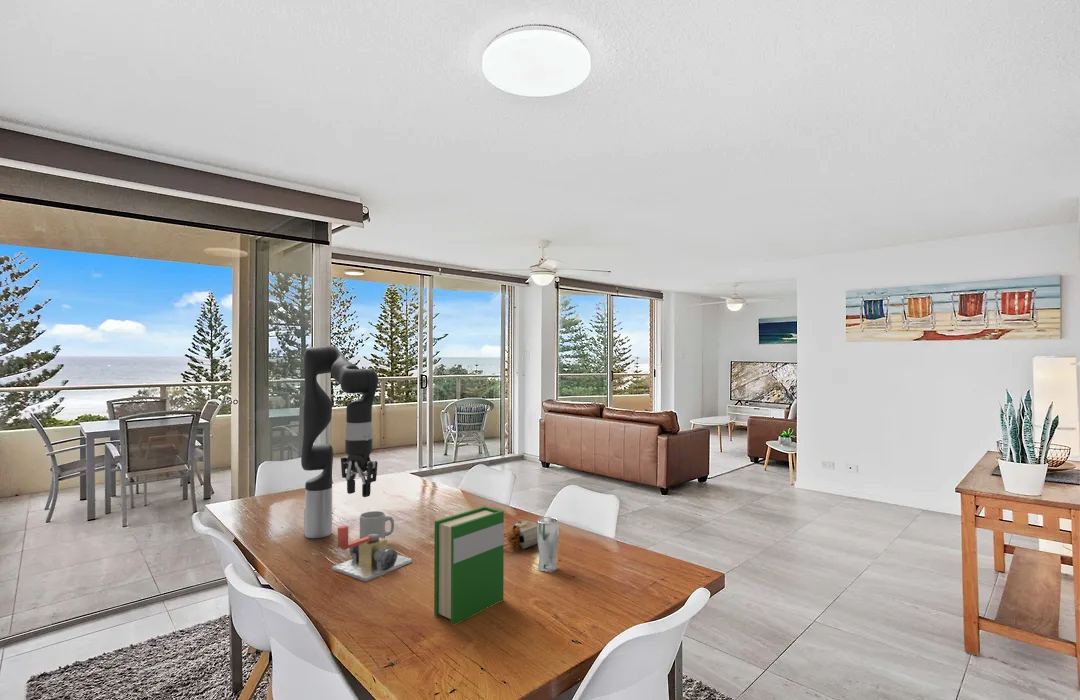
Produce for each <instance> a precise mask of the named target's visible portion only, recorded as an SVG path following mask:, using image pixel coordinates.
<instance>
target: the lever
mask: <svg viewBox="0 0 1080 700" xmlns="http://www.w3.org/2000/svg"><path fill="white" fill-rule="evenodd" d="M357 539H358V540H357ZM357 539H355V540H353V541H350V542H349V526H348V525H341V526H338V527H337V548H340V549H341V550H344V551H347V550H348V549H349V550H350V548H352V547H354V546H357V545H360V544H363V543H366V542H369V541H377V540H379V534H370V535H368V536H367V537H364V538H361V539H360V538H357Z"/></svg>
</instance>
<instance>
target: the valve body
mask: <svg viewBox="0 0 1080 700" xmlns="http://www.w3.org/2000/svg"><path fill="white" fill-rule="evenodd" d="M358 539H359V538H357V539H356V540H358ZM349 555H350V556H351V559H349V560H346V561H344V562H340V563H337V564H336V565H333V566H332V567H331V568H332V569H331V570H332V571H335V572H338V573H341V574H343V575H346V576H349V577H351V578H353V579H357V580H360V581H362V582H363V583H365V582H369V581H371V580H374V579H375V578H378V577H380V576H383V575H385V574H387V573H389V572H392V571H395V570H397V569H399V568H402V567H404V566H406V565H409V564H411V563H413V558H410V557H406V556H403V555H400V554H398V552H397V551H396V549H394V548H389V547H388V539H386V538H385V539H384V538H380V537H379V540H377V541H369V542H366V543H363V544H360V545H357V546H354V547H352V548H349Z"/></svg>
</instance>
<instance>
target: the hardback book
mask: <svg viewBox="0 0 1080 700" xmlns="http://www.w3.org/2000/svg"><path fill="white" fill-rule="evenodd" d="M504 514H505V513H504V510H500V509H497V508H492V507H489V506H486V505H485V506H482V507H478V508H474V509H471V510H467V511H463V512H460V513H456V514H455V515H451V516H447V517H444V518H443V517H442V518H441V519H437V520H434V546H433V547H434V548H433V549H434V551H433V552H434V553H433V555H434V564H433V565H434V567H433V568H434V569H433V570H434V572H433V574H434V575H433V576H434V577H433V579H434V580H433V582H434V583H433V585H434V586H433V587H434V588H433V589H434V591H433V592H434V593H433V596H434V597H433V598H434V599H433V603H434V604H433V615H434V617H435V616H436V617H435V618H438V617H439V615H440V616H443V617H445V618H448V619H450V625H451V624H452V626H455V625H457V624H459V623H461V622H463V621H465V620H467V619H469V618H471V617H472V615H473V616H474V614H475V615H476V613H477V614H479V613H481V612H483V611H484V610H483V609H485V610H487V609H488V608H487V607H489V608H491V607H492V606H491V605H493V604H495V603H497V602H499V601H501V600H503V601H504V577H505V576H504V573H505V572H504V567H505V566H504V564H505V563H504V559H505V558H504V555H505V554H504V553H505V552H504V550H505V546H504V545H505V543H504V542H505V541H504V540H505V539H504V538H505V536H504V534H505V533H504V530H505V528H504V523H505V521H504V519H505V518H504V517H505V516H504ZM501 602H502V601H501ZM499 603H500V602H499ZM497 604H498V603H497ZM495 605H496V604H495ZM490 606H491V607H490ZM493 606H494V605H493ZM486 608H487V609H486ZM482 610H483V611H482ZM480 611H481V612H480ZM478 612H479V613H478ZM437 616H438V617H437ZM470 616H471V617H470ZM468 617H469V618H468ZM466 618H467V619H466ZM464 619H465V620H464ZM462 620H463V621H462ZM460 621H461V622H460ZM458 622H459V623H458ZM456 623H457V624H456ZM454 624H455V625H454Z"/></svg>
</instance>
